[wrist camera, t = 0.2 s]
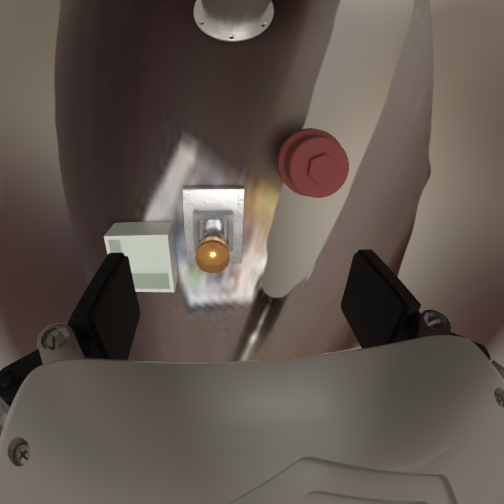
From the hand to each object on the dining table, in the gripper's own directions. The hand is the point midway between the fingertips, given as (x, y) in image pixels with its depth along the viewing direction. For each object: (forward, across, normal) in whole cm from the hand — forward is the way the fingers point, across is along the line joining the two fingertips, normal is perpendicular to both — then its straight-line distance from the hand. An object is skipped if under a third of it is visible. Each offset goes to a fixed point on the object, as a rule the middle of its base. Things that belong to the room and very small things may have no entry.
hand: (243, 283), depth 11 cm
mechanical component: (+36, -12, 0) cm, 38 cm away
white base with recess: (+36, +2, +13) cm, 39 cm away
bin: (+36, +15, +18) cm, 43 cm away
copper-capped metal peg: (+34, +2, +13) cm, 37 cm away
